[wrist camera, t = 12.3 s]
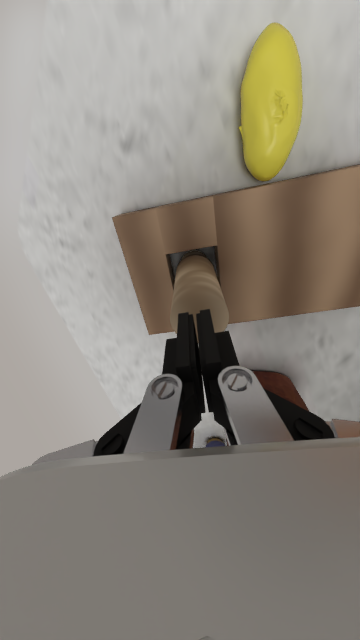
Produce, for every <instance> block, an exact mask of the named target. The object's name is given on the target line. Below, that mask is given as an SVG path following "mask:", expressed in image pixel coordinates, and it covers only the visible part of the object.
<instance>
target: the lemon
mask: <svg viewBox="0 0 360 640" xmlns="http://www.w3.org/2000/svg"><path fill="white" fill-rule="evenodd" d="M302 103H303V98H302V72H301V63H300V59H299V55H298V51H297V47H296V44H295V41H294V39H293V37H292V35H291V34H290V32H289V31H288V30H287V29H286V28H285V27H283V26H282V25H280V24H279V23H271V24H270V25H268V26H267V27H266V28H265V29H264V31H263V32H262V33H261V35H260V36H259V37H258V39H257V41H256V42H255V44H254V47H253V49H252V52H251V54H250V57H249V60H248V64H247V67H246V71H245V75H244V78H243V81H242V85H241V124H242V126H240V127H238V128H239V129H240V132H241V135H242V141H243V153H244V160H245V163H246V166H247V168H248V170H249V171H250V173H251V174H252V175H253V177H255V178H256V179H257V180H260V181H269V180H270V179H272V178H273V177H275V176H276V175H277V174H278V173H279V171H280V170H281V169H282V167H283V166H284V164H285V162H286V160H287V158H288V156H289V154H290V151H291V149H292V146H293V144H294V141H295V139H296V136H297V134H298V130H299V127H300V122H301V116H302Z"/></svg>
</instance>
